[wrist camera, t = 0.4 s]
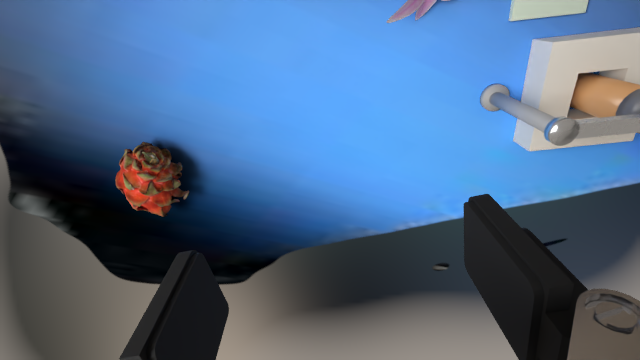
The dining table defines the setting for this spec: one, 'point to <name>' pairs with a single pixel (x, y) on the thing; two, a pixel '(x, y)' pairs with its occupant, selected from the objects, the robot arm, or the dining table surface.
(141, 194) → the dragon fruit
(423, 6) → the lily
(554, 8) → the pad
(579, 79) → the plug
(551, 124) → the grey ball-jointed lever
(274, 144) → the dining table surface
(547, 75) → the socket block
